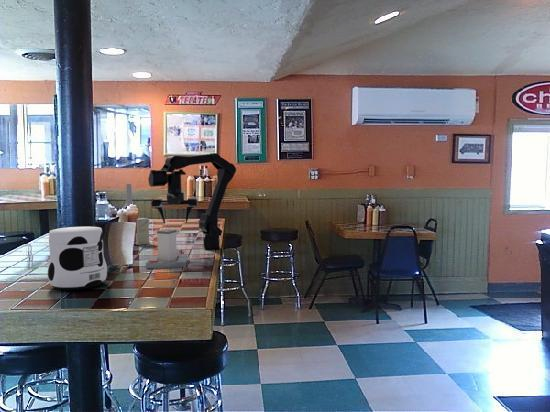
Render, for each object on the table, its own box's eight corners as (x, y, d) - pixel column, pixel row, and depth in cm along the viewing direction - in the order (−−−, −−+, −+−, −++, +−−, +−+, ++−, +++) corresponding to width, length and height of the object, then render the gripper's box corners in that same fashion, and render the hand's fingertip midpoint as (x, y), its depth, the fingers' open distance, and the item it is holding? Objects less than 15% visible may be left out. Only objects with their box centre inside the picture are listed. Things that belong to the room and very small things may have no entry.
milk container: (60, 280, 161) (57, 226, 159) (113, 279, 162) (111, 225, 161) (38, 294, 144) (35, 234, 142) (98, 293, 145) (96, 233, 143)
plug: (165, 261, 188) (164, 229, 187) (177, 262, 186) (176, 230, 185) (157, 264, 184) (156, 231, 182) (169, 265, 182) (168, 231, 180)
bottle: (132, 240, 242) (130, 183, 239) (121, 239, 244) (119, 183, 241) (140, 238, 248) (138, 183, 245) (129, 237, 250) (127, 183, 248)
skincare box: (138, 245, 227) (138, 219, 226) (133, 244, 230) (132, 218, 229) (149, 243, 232) (148, 218, 231) (143, 242, 235) (143, 217, 234)
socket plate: (187, 259, 193) (187, 253, 192) (184, 267, 179) (184, 260, 179) (151, 260, 191) (151, 254, 191) (145, 268, 177) (145, 261, 177)
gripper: (148, 187, 195) (150, 225, 197) (195, 186, 197) (196, 224, 199) (152, 185, 206) (154, 222, 208) (197, 185, 208) (198, 221, 210)
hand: (175, 222), depth 206 cm, fingers open, 9 cm apart
